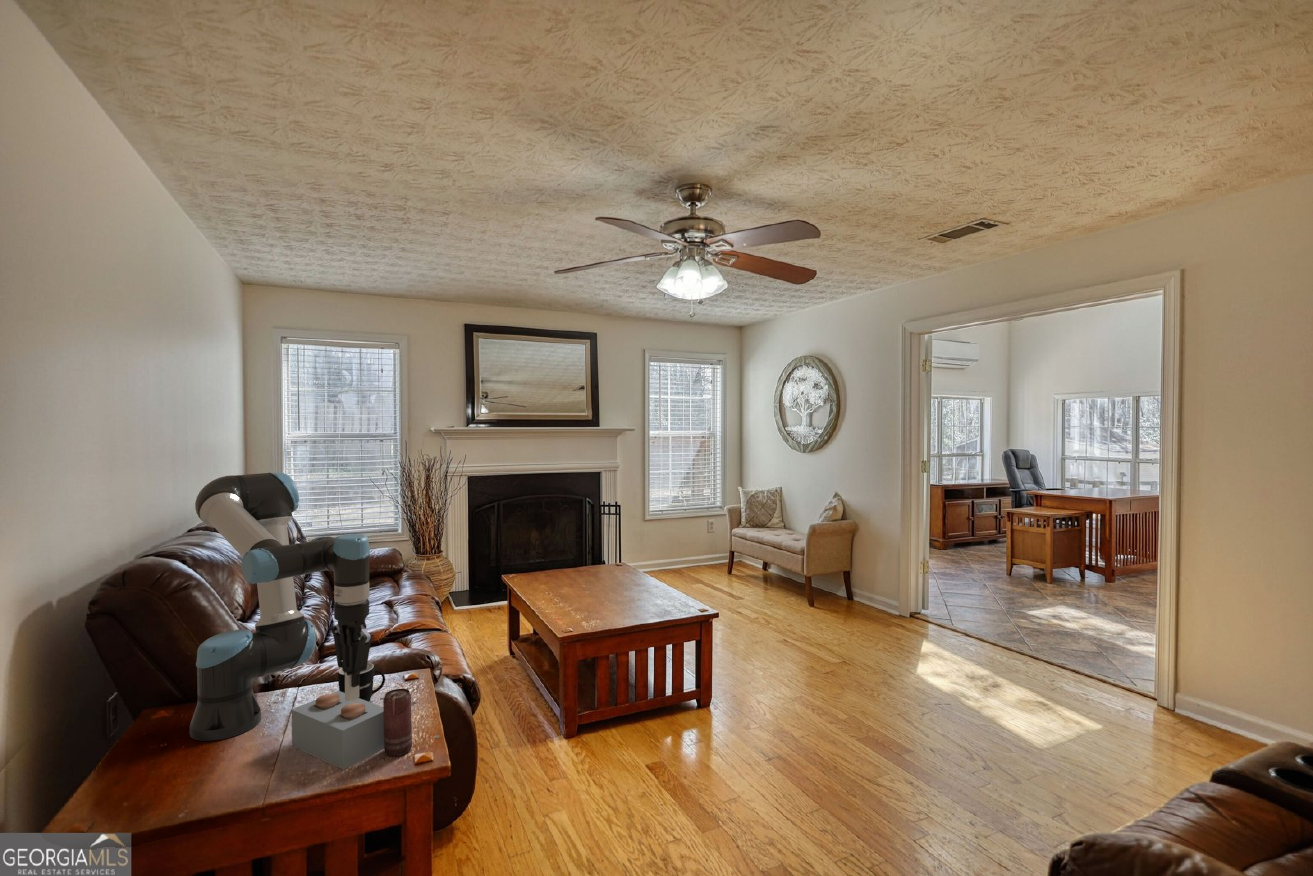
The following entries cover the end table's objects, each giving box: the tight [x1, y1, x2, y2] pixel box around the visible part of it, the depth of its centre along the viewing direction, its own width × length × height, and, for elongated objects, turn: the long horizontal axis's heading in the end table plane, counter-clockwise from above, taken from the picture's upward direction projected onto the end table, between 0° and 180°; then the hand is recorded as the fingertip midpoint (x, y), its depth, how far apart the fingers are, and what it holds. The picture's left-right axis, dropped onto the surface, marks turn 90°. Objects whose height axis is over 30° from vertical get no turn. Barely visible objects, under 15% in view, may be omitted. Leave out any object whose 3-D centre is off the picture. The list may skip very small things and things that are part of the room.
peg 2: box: [341, 703, 365, 721], centre depth 149 cm, size 5×5×10 cm
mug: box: [337, 662, 386, 702], centre depth 174 cm, size 12×9×10 cm
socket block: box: [291, 690, 384, 770], centre depth 151 cm, size 20×12×9 cm, turn 60°
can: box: [382, 688, 413, 758], centre depth 149 cm, size 6×6×14 cm
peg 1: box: [315, 693, 340, 710], centre depth 153 cm, size 5×5×10 cm
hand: (352, 698), depth 148 cm, fingers closed
